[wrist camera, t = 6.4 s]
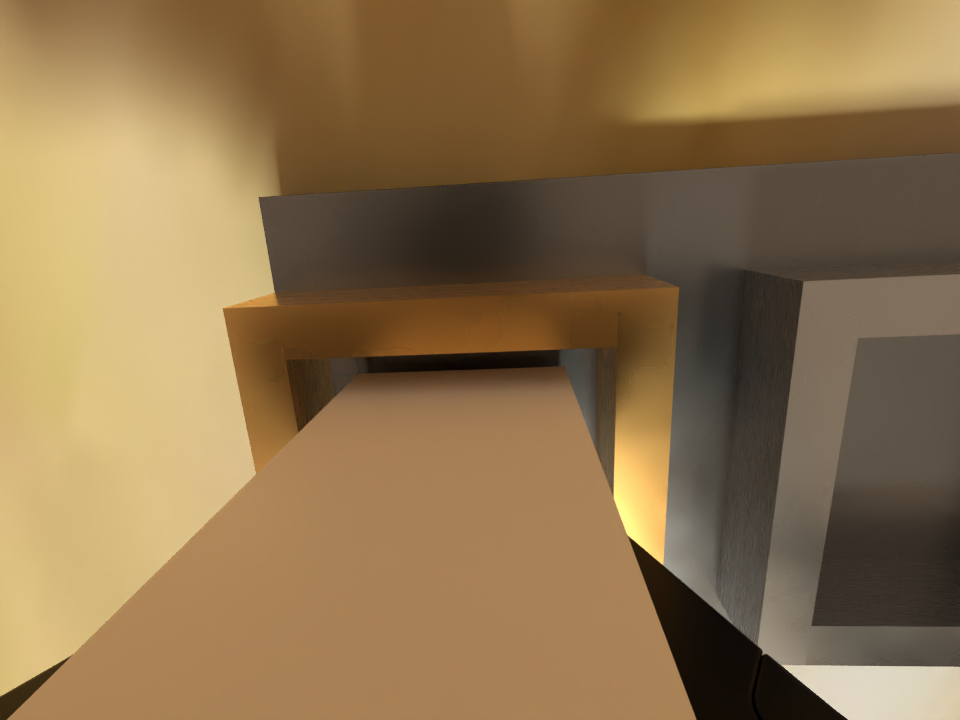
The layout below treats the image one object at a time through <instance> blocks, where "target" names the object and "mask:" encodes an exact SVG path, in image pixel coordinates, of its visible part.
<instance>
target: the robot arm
mask: <svg viewBox="0 0 960 720" xmlns="http://www.w3.org/2000/svg"><path fill="white" fill-rule="evenodd" d="M628 538H629V541H630V543H631V546H632V549H633V551H634V554H635V557H636V559H637V562H638V565H639V567H640V570H641V573H642V575H643V578H644V581H645V583H646V586H647V589H648V591H649V594H650V597H651V599H652V602H653V605H654V607H655V610H656V613H657V616H658V618H659V621H660V624H661V626H662V629H663V632H664V634H665V637H666V640H667V642H668V645H669V648H670V650H671V653H672V656H673V658H674V661H675V664H676V666H677V669H678V672H679V674H680V677H681V680H682V682H683V685H684V688H685V690H686V693H687V696H688V698H689V701H690V704H691V706H692V709H693V712H694V715H695V717H696V720H848V719H846V718H845V717H844V716H842V715H841V714H840V713H838V712H837V711H836V710H835V709H833V708H832V707H831V706H830V705H828V704H827V703H826V702H825V701H824V700H822V699H821V698H820V697H819V696H817V695H816V694H815V693H814V692H813V691H811V690H810V689H809V688H808V687H806V686H805V685H804V684H803V683H802V682H800V681H799V680H798V679H797V678H795V677H794V676H793V675H792V674H791V673H789V672H788V671H787V670H786V669H785V668H784V667H782V666H781V665H780V664H779V663H778V662H777V661H775V660H774V659H773V658H772V657H771V656H769V655H768V654H763V651H762V649H761V648H760V647H759V646H757V645H756V644H755V643H754V642H753V641H752V640H750V639H749V638H748V637H747V636H746V635H745V634H743V633H742V632H741V631H740V630H739V629H737V628H736V627H735V626H734V625H733V624H732V623H730V622H729V621H728V620H727V619H726V618H725V617H723V616H722V615H721V614H720V613H719V612H717V611H716V610H715V609H714V608H713V607H712V606H710V605H709V604H708V603H707V602H706V601H705V600H703V599H702V598H701V597H700V596H699V595H698V594H696V593H695V592H694V591H693V590H692V589H690V588H689V587H688V586H687V585H686V584H685V583H683V582H682V581H681V580H680V579H679V578H678V577H676V576H675V575H674V574H673V573H672V572H671V571H669V570H668V569H667V568H666V567H665V566H663V565H662V564H661V563H660V562H659V561H658V560H656V559H655V558H654V557H653V556H652V555H651V554H649V553H648V552H647V551H646V550H645V549H644V548H642V547H641V546H640V545H639V544H638V543H636V542H635V541H634V540H633V539H632V538H631V537H629V536H628ZM71 656H72V655H71ZM71 656H70V657H71ZM70 657H68V658H66V659H65V660H63V661H61V662H60V663H58V664H56V665H55V666H53V667H51V668H49V669H48V670H46V671H44V672H42V673H41V674H39V675H37V676H35V677H34V678H32V679H30V680H28V681H27V682H25V683H23V684H22V685H20V686H18V687H16V688H15V689H13V690H11V691H9V692H8V693H6V694H4V695H2V696H1V697H0V720H7V719H8V718H9V717H10V716H11V715H12V714H13V713H14V712H15V711H16V710H17V709H18V708H19V707H20V706H21V705H22V704H23V703H25V702H26V701H27V700H28V699H29V698H30V697H31V696H32V695H33V694H34V693H35V692H36V691H37V690H38V689H39V688H40V687H41V686H42V685H43V684H44V683H45V682H46V681H47V680H48V679H49V678H50V677H51V676H52V675H53V674H54V673H55V672H56V671H57V670H58V669H59V668H60V667H61V666H62V665H63V664H64V663H65V662H66V661H67V660H68V659H69V658H70Z"/></svg>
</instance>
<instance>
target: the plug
mask: <svg viewBox="0 0 960 720" xmlns="http://www.w3.org/2000/svg"><path fill="white" fill-rule="evenodd" d="M7 720H696V717H695V715H694V712H693V709H692V706H691V704H690V701H689V698H688V696H687V693H686V690H685V688H684V685H683V682H682V680H681V677H680V674H679V672H678V669H677V666H676V664H675V661H674V658H673V656H672V653H671V650H670V648H669V645H668V642H667V640H666V637H665V634H664V632H663V629H662V626H661V624H660V621H659V618H658V616H657V613H656V610H655V607H654V605H653V602H652V599H651V597H650V594H649V591H648V589H647V586H646V583H645V581H644V578H643V575H642V573H641V570H640V567H639V565H638V562H637V559H636V557H635V554H634V551H633V549H632V546H631V543H630V541H629V538H628V535H627V533H626V530H625V527H624V525H623V522H622V519H621V517H620V514H619V511H618V508H617V506H616V503H615V500H614V498H613V495H612V492H611V490H610V487H609V484H608V482H607V479H606V476H605V474H604V471H603V468H602V466H601V463H600V460H599V458H598V455H597V452H596V450H595V447H594V444H593V442H592V439H591V436H590V434H589V431H588V428H587V426H586V423H585V420H584V418H583V415H582V412H581V409H580V407H579V404H578V401H577V399H576V396H575V393H574V391H573V388H572V385H571V383H570V380H569V377H568V375H567V372H566V369H565V367H564V366H560V367H532V368H505V369H477V370H449V371H422V372H394V373H366V374H358V375H357V376H356V377H355V378H354V379H353V380H352V381H351V382H350V383H349V384H348V385H347V386H346V387H345V388H344V389H342V390H341V391H340V392H339V393H338V394H337V395H336V396H335V397H334V398H333V399H332V400H331V401H330V402H329V403H328V404H327V405H326V406H325V407H324V408H323V409H322V410H321V411H320V412H319V413H318V414H317V415H316V416H315V417H314V418H313V419H312V420H311V421H310V422H309V423H308V424H307V425H306V426H305V427H304V428H303V429H302V430H301V431H300V432H299V433H298V434H297V435H296V436H295V437H294V438H293V439H292V440H291V441H290V442H289V443H288V444H287V445H286V446H285V447H284V448H283V449H282V450H281V451H279V452H278V453H277V454H276V455H275V456H274V457H273V458H272V459H271V460H270V461H269V462H268V463H267V464H266V465H265V466H264V467H263V468H262V469H261V470H260V471H259V472H258V473H257V474H256V475H255V476H254V477H253V478H252V479H251V480H250V481H249V482H248V483H247V484H246V485H245V486H244V487H243V488H242V489H241V490H240V491H239V492H238V493H237V494H236V495H235V496H234V497H233V498H232V499H231V500H230V501H229V502H228V503H227V504H226V505H225V506H224V507H223V508H222V509H221V510H220V511H219V512H218V513H217V514H215V515H214V516H213V517H212V518H211V519H210V520H209V521H208V522H207V523H206V524H205V525H204V526H203V527H202V528H201V529H200V530H199V531H198V532H197V533H196V534H195V535H194V536H193V537H192V538H191V539H190V540H189V541H188V542H187V543H186V544H185V545H184V546H183V547H182V548H181V549H180V550H179V551H178V552H177V553H176V554H175V555H174V556H173V557H172V558H171V559H170V560H169V561H168V562H167V563H166V564H165V565H164V566H163V567H162V568H161V569H160V570H159V571H158V572H157V573H156V574H155V575H154V576H153V577H151V578H150V579H149V580H148V581H147V582H146V583H145V584H144V585H143V586H142V587H141V588H140V589H139V590H138V591H137V592H136V593H135V594H134V595H133V596H132V597H131V598H130V599H129V600H128V601H127V602H126V603H125V604H124V605H123V606H122V607H121V608H120V609H119V610H118V611H117V612H116V613H115V614H114V615H113V616H112V617H111V618H110V619H109V620H108V621H107V622H106V623H105V624H104V625H103V626H102V627H101V628H100V629H99V630H98V631H97V632H96V633H95V634H94V635H93V636H92V637H91V638H90V639H89V640H87V641H86V642H85V643H84V644H83V645H82V646H81V647H80V648H79V649H78V650H77V651H76V652H75V653H74V654H73V655H72V656H71V657H70V658H69V659H68V660H67V661H66V662H65V663H64V664H63V665H62V666H61V667H60V668H59V669H58V670H57V671H56V672H55V673H54V674H53V675H52V676H51V677H50V678H49V679H48V680H47V681H46V682H45V683H44V684H43V685H42V686H41V687H40V688H39V689H38V690H37V691H36V692H35V693H34V694H33V695H32V696H31V697H30V698H29V699H28V700H27V701H26V702H25V703H23V704H22V705H21V706H20V707H19V708H18V709H17V710H16V711H15V712H14V713H13V714H12V715H11V716H10V717H9V718H8V719H7Z"/></svg>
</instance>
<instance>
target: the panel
mask: <svg viewBox="0 0 960 720" xmlns="http://www.w3.org/2000/svg"><path fill="white" fill-rule="evenodd" d="M259 202H260V208H261V214H262V220H263V225H264V231H265V237H266V243H267V249H268V255H269V260H270V266H271V272H272V278H273V284H274V290H275V293H273V294H270V295H267V296H263V297H260V298H256V299H253V300H250V301H246V302H243V303H240V304H236V305H233V306H229V307H226V308H223V312H224V317H225V322H226V327H227V332H228V337H229V342H230V347H231V351H232V356H233V361H234V366H235V371H236V376H237V381H238V386H239V391H240V396H241V401H242V406H243V411H244V416H245V421H246V426H247V431H248V436H249V440H250V445H251V450H252V455H253V460H254V465H255V470H256V474H257V473H258V472H259V471H260V470H261V469H262V468H263V467H264V466H265V465H266V464H267V463H268V462H269V461H270V460H271V459H272V458H273V457H274V456H275V455H276V454H277V453H278V452H279V451H281V450H282V449H283V448H284V447H285V446H286V445H287V444H288V443H289V442H290V441H291V440H292V439H293V438H294V437H295V436H296V435H297V434H298V433H299V432H300V431H301V430H302V429H303V428H304V427H305V426H306V425H307V424H308V423H309V422H310V421H311V420H312V419H313V418H314V417H315V416H316V415H317V414H318V413H319V412H320V411H321V410H322V409H323V408H324V407H325V406H326V405H327V404H328V403H329V402H330V401H331V400H332V399H333V398H334V397H335V396H336V395H337V394H338V393H339V392H340V391H341V390H342V389H344V388H345V387H346V386H347V385H348V384H349V383H350V382H351V381H352V380H353V379H354V378H355V377H356V376H357V375H358V374H366V373H394V372H422V371H449V370H477V369H505V368H532V367H560V366H564V367H565V369H566V372H567V375H568V377H569V380H570V383H571V385H572V388H573V391H574V393H575V396H576V399H577V401H578V404H579V407H580V409H581V412H582V415H583V418H584V420H585V423H586V426H587V428H588V431H589V434H590V436H591V439H592V442H593V444H594V447H595V450H596V452H597V455H598V458H599V460H600V463H601V466H602V468H603V471H604V474H605V476H606V479H607V482H608V484H609V487H610V490H611V492H612V495H613V498H614V500H615V503H616V506H617V508H618V511H619V514H620V517H621V519H622V522H623V525H624V527H625V530H626V533H627V535H628V536H629V537H631V538H632V539H633V540H634V541H635V542H636V543H638V544H639V545H640V546H641V547H642V548H644V549H645V550H646V551H647V552H648V553H649V554H651V555H652V556H653V557H654V558H655V559H656V560H658V561H659V562H660V563H661V564H662V565H663V566H665V567H666V568H667V569H668V570H669V571H671V572H672V573H673V574H674V575H675V576H676V577H678V578H679V579H680V580H681V581H682V582H683V583H685V584H686V585H687V586H688V587H689V588H690V589H692V590H693V591H694V592H695V593H696V594H698V595H699V596H700V597H701V598H702V599H703V600H705V601H706V602H707V603H708V604H709V605H710V606H712V607H713V608H714V609H715V610H716V611H717V612H719V613H720V614H721V615H722V616H723V617H725V618H726V619H727V620H728V621H729V622H730V623H732V624H733V625H734V626H735V627H736V628H737V629H739V630H740V631H741V632H742V633H743V634H745V635H746V636H747V637H748V638H749V639H750V640H752V641H753V642H754V643H755V644H756V645H757V646H759V647H760V648H761V649H762V651H763V654H768V655H769V656H771V657H772V658H773V659H774V660H775V661H777V662H778V663H779V664H780V665H848V666H953V667H960V153H944V154H929V155H913V156H897V157H882V158H866V159H850V160H835V161H819V162H803V163H788V164H772V165H756V166H741V167H725V168H710V169H694V170H678V171H663V172H647V173H631V174H616V175H600V176H584V177H569V178H553V179H537V180H522V181H506V182H490V183H475V184H459V185H443V186H428V187H412V188H397V189H381V190H365V191H350V192H334V193H318V194H303V195H287V196H271V197H259Z"/></svg>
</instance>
